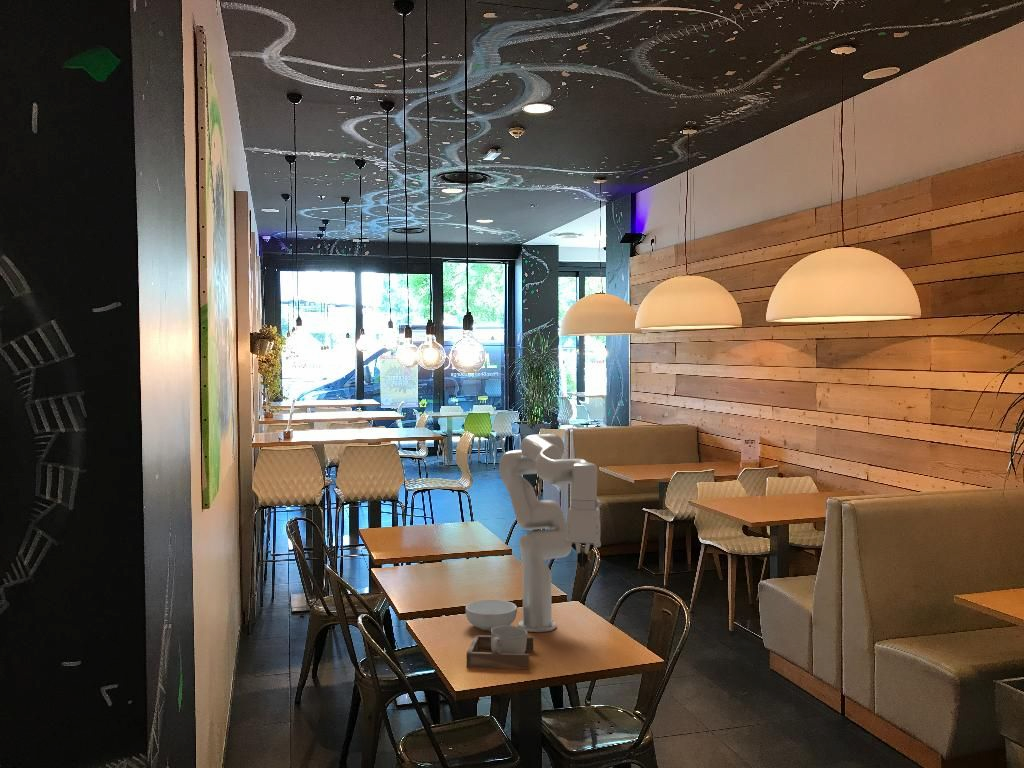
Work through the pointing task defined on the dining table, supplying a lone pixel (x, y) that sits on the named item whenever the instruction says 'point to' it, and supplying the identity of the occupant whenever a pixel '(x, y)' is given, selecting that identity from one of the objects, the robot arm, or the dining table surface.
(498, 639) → the teacup
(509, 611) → the cereal bowl
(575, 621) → the dining table surface
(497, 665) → the walnut bay
